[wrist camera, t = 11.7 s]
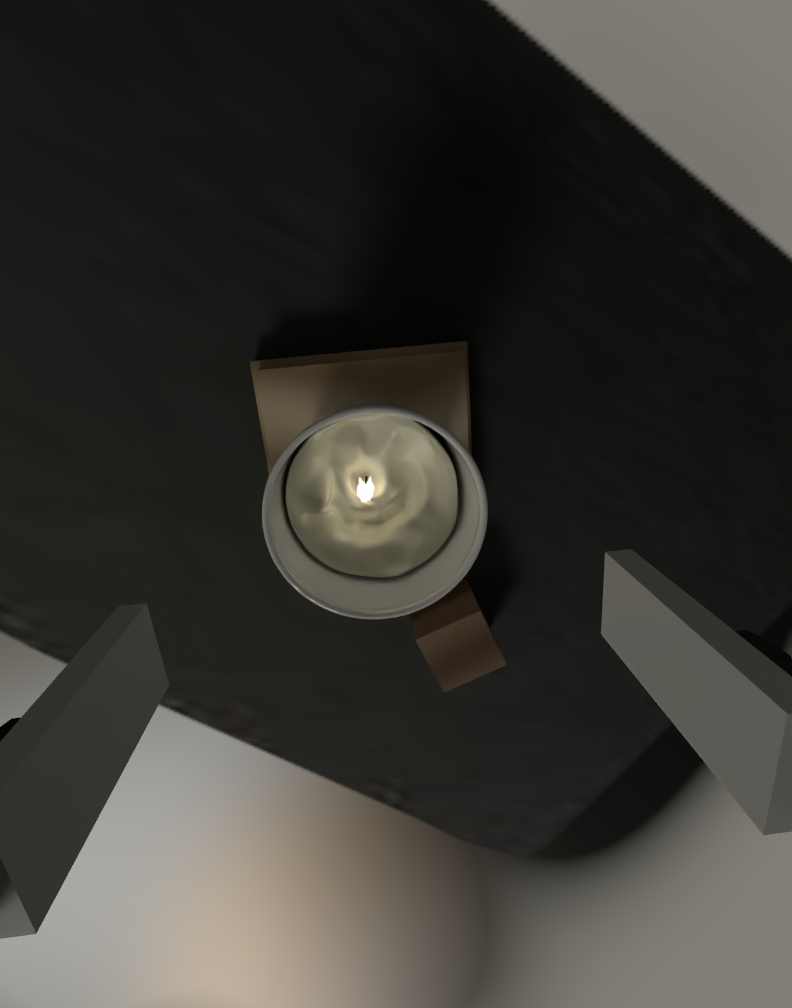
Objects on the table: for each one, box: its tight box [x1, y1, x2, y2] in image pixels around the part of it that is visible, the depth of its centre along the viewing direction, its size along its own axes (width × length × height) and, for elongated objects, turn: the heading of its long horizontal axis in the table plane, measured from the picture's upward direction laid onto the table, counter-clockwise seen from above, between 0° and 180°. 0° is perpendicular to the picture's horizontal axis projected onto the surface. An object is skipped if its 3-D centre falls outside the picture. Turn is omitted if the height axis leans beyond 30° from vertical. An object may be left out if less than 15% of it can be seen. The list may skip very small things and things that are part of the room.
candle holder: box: [262, 394, 488, 619], centre depth 28 cm, size 10×10×12 cm
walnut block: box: [410, 579, 507, 692], centre depth 39 cm, size 5×5×5 cm
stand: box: [250, 341, 472, 475], centre depth 35 cm, size 14×14×3 cm
